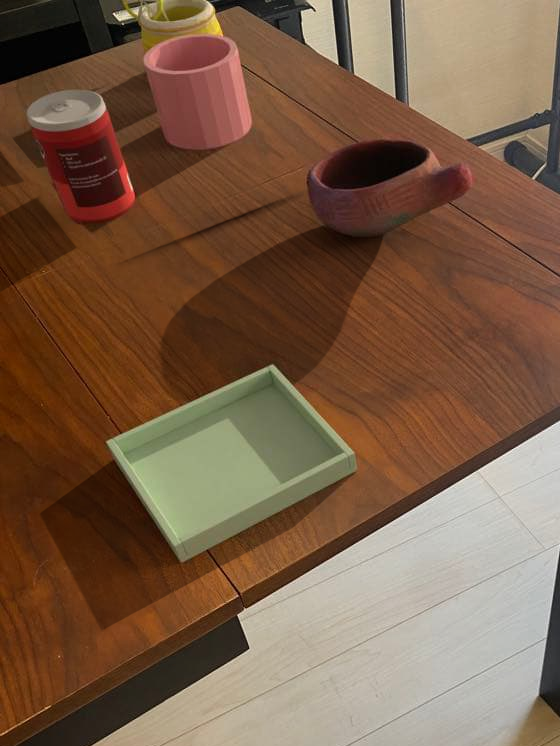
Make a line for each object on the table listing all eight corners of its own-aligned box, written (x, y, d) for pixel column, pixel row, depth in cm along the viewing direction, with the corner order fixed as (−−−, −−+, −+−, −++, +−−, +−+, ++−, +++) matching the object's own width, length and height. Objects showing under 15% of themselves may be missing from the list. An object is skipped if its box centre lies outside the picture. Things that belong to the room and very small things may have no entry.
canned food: (96, 184, 96) (59, 84, 87) (152, 197, 93) (120, 95, 85) (51, 219, 92) (8, 117, 83) (108, 233, 89) (70, 130, 80)
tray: (181, 563, 61) (173, 546, 59) (113, 458, 68) (105, 441, 66) (357, 470, 66) (354, 452, 64) (277, 381, 73) (272, 363, 71)
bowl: (312, 265, 83) (299, 189, 77) (315, 197, 91) (303, 122, 85) (473, 253, 83) (474, 175, 77) (462, 185, 91) (462, 110, 85)
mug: (249, 71, 112) (229, -33, 102) (183, 102, 107) (156, -4, 98) (191, 47, 118) (167, -52, 108) (126, 76, 113) (96, -26, 104)
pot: (188, 163, 97) (166, 82, 90) (151, 130, 103) (128, 51, 96) (268, 134, 101) (253, 54, 94) (228, 103, 106) (211, 25, 99)
